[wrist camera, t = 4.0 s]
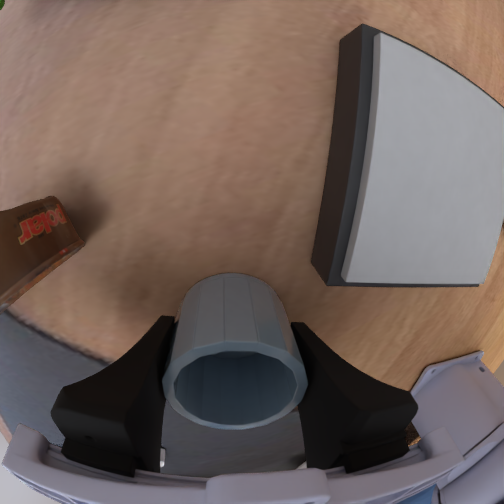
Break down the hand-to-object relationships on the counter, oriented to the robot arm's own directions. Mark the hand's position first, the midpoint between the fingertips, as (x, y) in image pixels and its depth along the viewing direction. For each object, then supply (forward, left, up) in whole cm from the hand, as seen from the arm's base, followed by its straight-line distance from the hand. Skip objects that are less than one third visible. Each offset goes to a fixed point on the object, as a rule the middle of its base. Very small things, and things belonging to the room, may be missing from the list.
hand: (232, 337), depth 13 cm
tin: (+13, -2, -2) cm, 13 cm away
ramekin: (0, 0, -1) cm, 1 cm away
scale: (-9, -9, -1) cm, 13 cm away
